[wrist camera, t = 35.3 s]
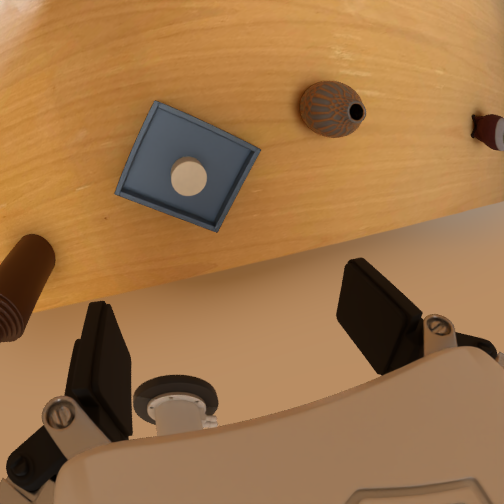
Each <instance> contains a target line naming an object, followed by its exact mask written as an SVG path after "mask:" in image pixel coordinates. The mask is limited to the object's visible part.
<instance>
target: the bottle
mask: <svg viewBox="0 0 504 504" xmlns="http://www.w3.org/2000/svg"><path fill="white" fill-rule="evenodd" d="M54 265H55V254H54V251H53V249H52V247H51V245H50V244H49V243H48V242H47V241H46V240H45V239H44V238H42V237H41V236H38V235H35V234H29V235H26V236H24V237H22V238H21V239H20V241H19V242H18V243H17V244H16V245H15V247H14V248H13V249H12V250H11V252H10V253H9V254H8V255H7V257H6V258H5V259H4V261H3V262H2V263H1V264H0V342H11V341H15V340H17V339H18V338H20V337H21V336H22V334H23V332H24V330H25V328H26V325H27V323H28V320H29V318H30V316H31V314H32V311H33V309H34V307H35V305H36V302H37V300H38V298H39V296H40V294H41V292H42V290H43V288H44V286H45V284H46V282H47V280H48V278H49V276H50V274H51V272H52V270H53V268H54Z"/></svg>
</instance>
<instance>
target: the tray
mask: <svg viewBox="0 0 504 504" xmlns="http://www.w3.org/2000/svg"><path fill="white" fill-rule="evenodd" d="M260 151H261V149H259V148H257V147H255V146H253V145H251V144H249V143H247V142H245V141H243V140H241V139H239V138H237V137H235V136H233V135H231V134H229V133H227V132H225V131H223V130H221V129H219V128H217V127H215V126H213V125H211V124H208V123H206V122H204V121H202V120H200V119H198V118H195V117H193V116H191V115H189V114H186V113H184V112H182V111H179V110H177V109H175V108H173V107H170V106H168V105H165V104H163V103H160V102H158V101H156V100H155V101H154V103H153V105H152V107H151V109H150V111H149V113H148V115H147V117H146V119H145V121H144V123H143V126H142V128H141V130H140V132H139V134H138V137H137V139H136V141H135V143H134V146H133V148H132V150H131V153H130V155H129V157H128V160H127V162H126V165H125V167H124V170H123V172H122V175H121V177H120V180H119V183H118V185H117V188H116V191H115V193H114V194H115V195H118V196H120V197H123V198H126V199H128V200H131V201H134V202H137V203H139V204H142V205H145V206H147V207H150V208H153V209H155V210H158V211H161V212H163V213H166V214H169V215H171V216H174V217H177V218H179V219H182V220H185V221H187V222H190V223H193V224H195V225H198V226H201V227H203V228H206V229H209V230H211V231H214V232H216V233H217V232H218V231H219V229H220V227H221V225H222V223H223V221H224V219H225V217H226V215H227V213H228V211H229V209H230V207H231V205H232V203H233V202H234V200H235V198H236V196H237V194H238V192H239V190H240V188H241V186H242V184H243V183H244V181H245V179H246V177H247V175H248V173H249V171H250V170H251V168H252V166H253V164H254V162H255V160H256V158H257V157H258V155H259V153H260ZM182 157H193V158H196V159H197V160H198V161H199V162H200V163H201V164H202V166H203V168H204V169H205V171H206V174H207V182H206V185H205V187H204V188H203V189H202V190H201V191H200V192H199V193H198V194H195V195H192V196H184V195H181V194H179V193H178V192H177V191H176V190H175V189H174V188H173V186H172V182H171V168H172V166H173V164H174V163H175V162H176V161H177V160H178V159H180V158H182Z"/></svg>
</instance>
